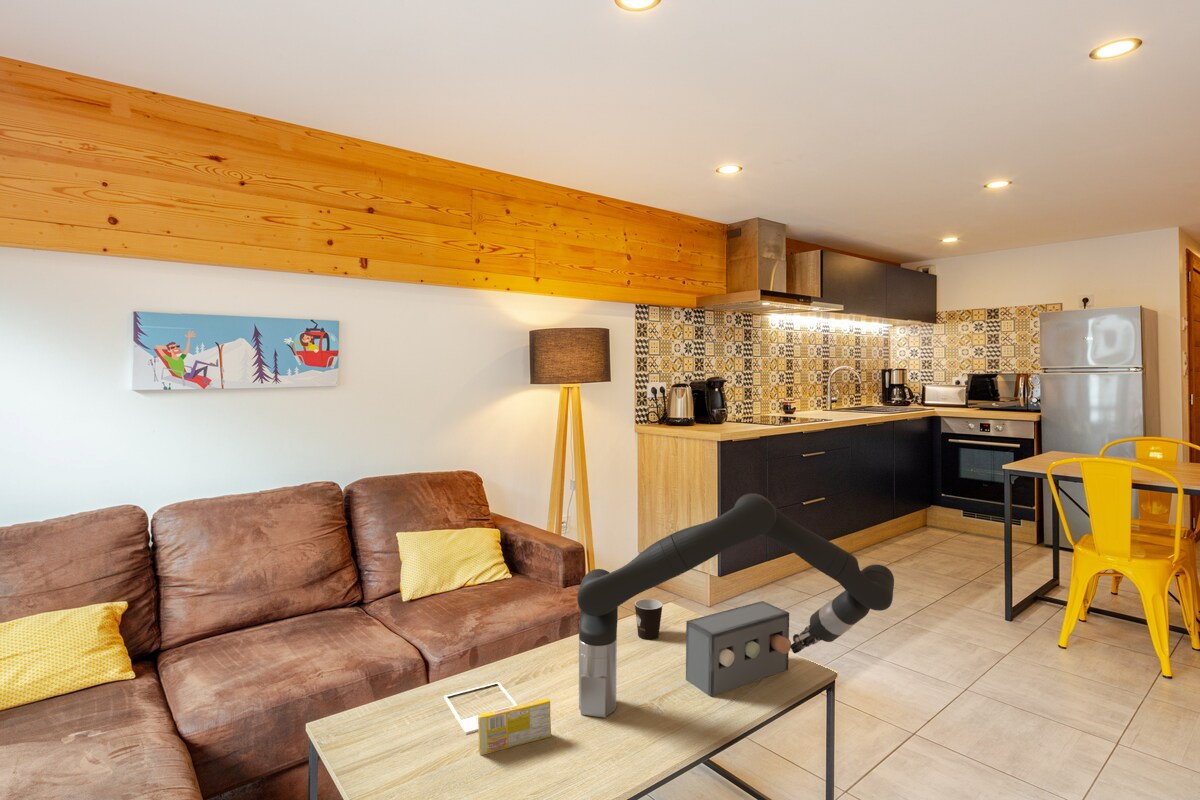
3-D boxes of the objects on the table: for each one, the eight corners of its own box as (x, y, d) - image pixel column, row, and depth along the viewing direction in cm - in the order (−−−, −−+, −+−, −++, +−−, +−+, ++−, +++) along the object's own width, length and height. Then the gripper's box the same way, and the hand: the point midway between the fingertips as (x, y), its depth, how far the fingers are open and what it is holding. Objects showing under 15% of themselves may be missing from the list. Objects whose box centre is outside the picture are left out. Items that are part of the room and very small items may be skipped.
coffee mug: (663, 641, 190) (663, 609, 189) (635, 641, 190) (635, 609, 189) (660, 625, 201) (660, 595, 201) (633, 625, 202) (633, 595, 201)
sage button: (759, 656, 165) (759, 641, 165) (748, 659, 163) (748, 644, 163) (740, 646, 171) (741, 631, 171) (729, 649, 169) (730, 635, 169)
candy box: (548, 732, 143) (548, 697, 142) (551, 737, 141) (551, 701, 140) (477, 750, 136) (477, 713, 135) (480, 756, 134) (480, 718, 133)
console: (788, 669, 172) (789, 612, 172) (710, 696, 158) (711, 634, 157) (761, 655, 181) (762, 601, 180) (685, 679, 167) (686, 621, 166)
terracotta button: (791, 652, 168) (791, 637, 167) (780, 655, 166) (780, 640, 165) (771, 642, 174) (771, 628, 173) (761, 645, 172) (761, 631, 171)
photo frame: (465, 731, 141) (443, 695, 157) (465, 736, 142) (443, 699, 157) (525, 713, 149) (498, 681, 164) (525, 718, 149) (498, 685, 164)
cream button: (734, 664, 160) (734, 649, 160) (722, 668, 158) (722, 652, 158) (715, 653, 166) (716, 639, 166) (704, 657, 164) (704, 642, 164)
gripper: (842, 600, 159) (803, 630, 170) (806, 610, 152) (768, 641, 163) (859, 628, 154) (818, 657, 165) (823, 640, 147) (783, 669, 159)
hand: (793, 649), depth 164 cm, fingers closed
